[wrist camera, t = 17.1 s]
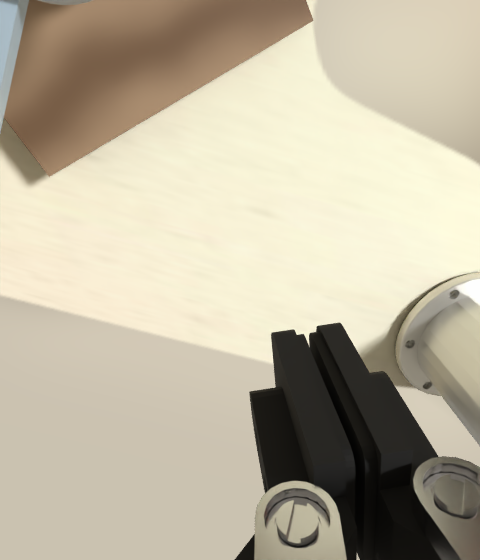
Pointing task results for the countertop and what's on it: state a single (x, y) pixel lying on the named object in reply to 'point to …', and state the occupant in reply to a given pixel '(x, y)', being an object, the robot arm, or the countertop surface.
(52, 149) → the thread post
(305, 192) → the countertop surface
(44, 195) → the countertop surface
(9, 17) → the lever handle
